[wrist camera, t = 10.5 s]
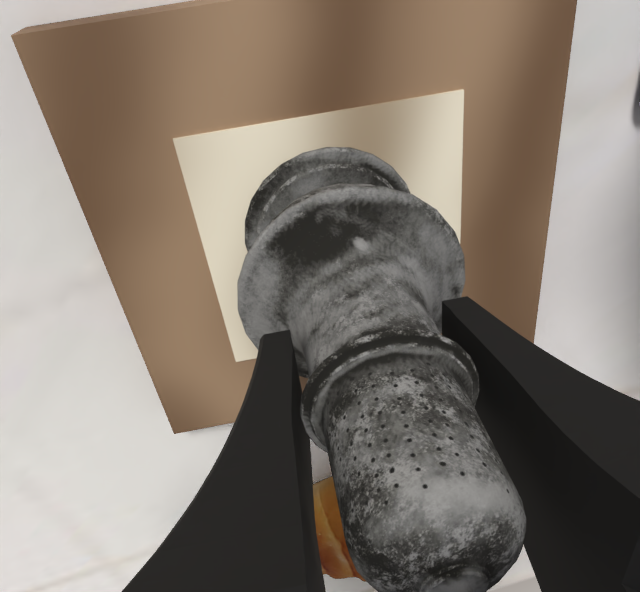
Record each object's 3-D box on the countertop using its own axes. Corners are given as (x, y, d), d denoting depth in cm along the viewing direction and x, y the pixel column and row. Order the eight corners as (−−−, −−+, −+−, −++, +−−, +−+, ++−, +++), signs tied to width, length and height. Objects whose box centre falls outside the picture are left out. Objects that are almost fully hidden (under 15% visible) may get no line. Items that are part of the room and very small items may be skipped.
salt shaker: (366, 329, 19) (515, 751, 10) (205, 277, 17) (183, 749, 7) (461, 183, 17) (800, 559, 7) (283, 100, 15) (410, 472, 5)
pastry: (292, 556, 29) (300, 632, 26) (257, 478, 25) (261, 556, 22) (465, 511, 29) (494, 581, 26) (455, 426, 25) (487, 497, 22)
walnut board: (560, -58, 15) (586, -56, 14) (517, 345, 23) (531, 366, 22) (26, 27, 14) (9, 36, 13) (176, 410, 22) (174, 436, 21)
